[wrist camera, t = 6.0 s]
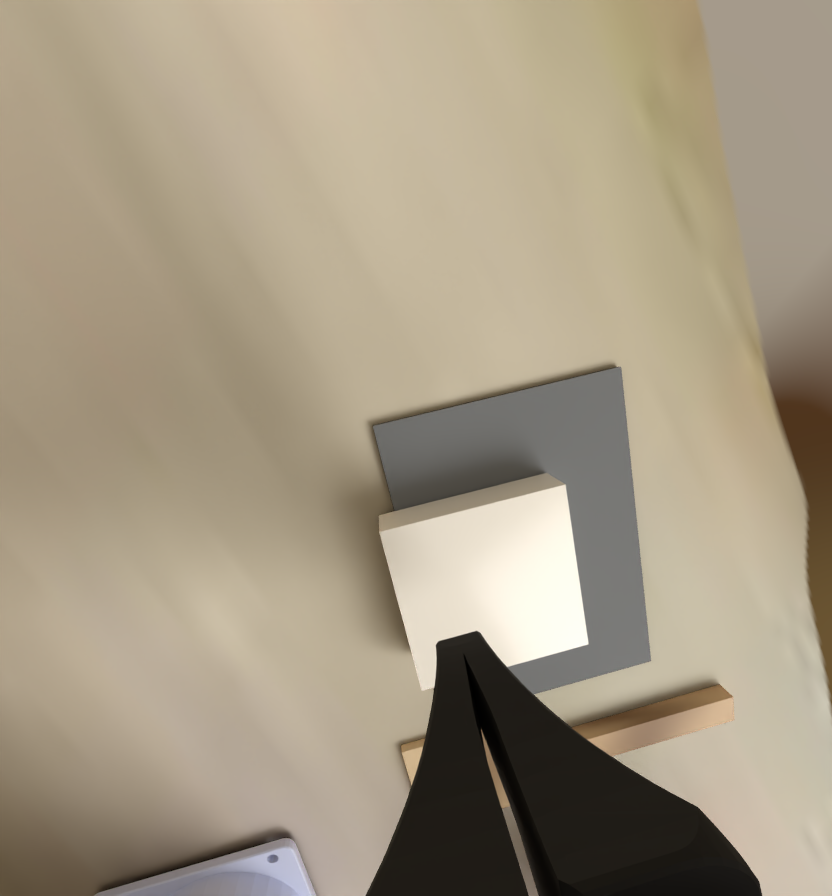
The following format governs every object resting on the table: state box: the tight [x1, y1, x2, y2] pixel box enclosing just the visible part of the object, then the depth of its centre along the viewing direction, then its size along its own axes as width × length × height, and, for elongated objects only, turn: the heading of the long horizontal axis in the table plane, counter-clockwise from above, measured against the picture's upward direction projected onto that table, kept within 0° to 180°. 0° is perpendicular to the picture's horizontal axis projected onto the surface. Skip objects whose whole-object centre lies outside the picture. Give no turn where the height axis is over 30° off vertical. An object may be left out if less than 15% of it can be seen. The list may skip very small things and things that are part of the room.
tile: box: [379, 473, 588, 691], centre depth 16 cm, size 2×7×7 cm
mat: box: [373, 367, 651, 694], centre depth 17 cm, size 10×14×1 cm
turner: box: [401, 684, 734, 808], centre depth 19 cm, size 16×5×1 cm, turn 103°
